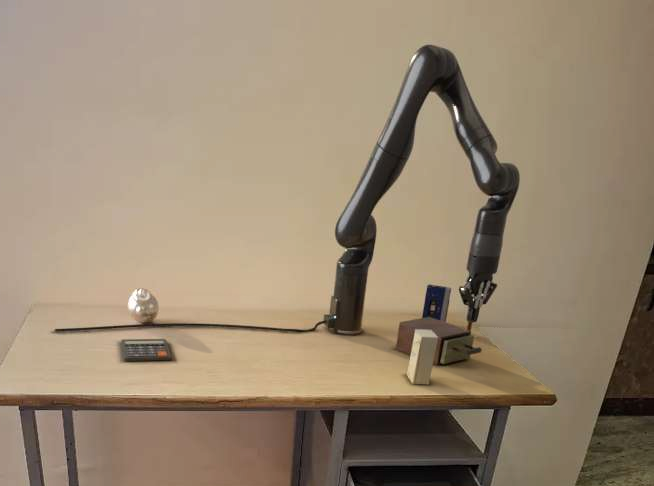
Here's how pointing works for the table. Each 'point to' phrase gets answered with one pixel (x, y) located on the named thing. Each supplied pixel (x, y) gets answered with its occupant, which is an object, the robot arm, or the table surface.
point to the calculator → (145, 349)
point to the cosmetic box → (422, 356)
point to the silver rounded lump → (143, 306)
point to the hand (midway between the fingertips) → (471, 321)
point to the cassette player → (436, 302)
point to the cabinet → (427, 323)
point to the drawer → (457, 348)
